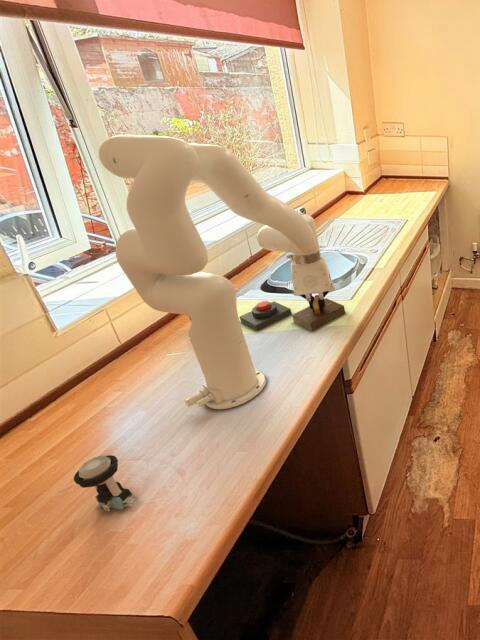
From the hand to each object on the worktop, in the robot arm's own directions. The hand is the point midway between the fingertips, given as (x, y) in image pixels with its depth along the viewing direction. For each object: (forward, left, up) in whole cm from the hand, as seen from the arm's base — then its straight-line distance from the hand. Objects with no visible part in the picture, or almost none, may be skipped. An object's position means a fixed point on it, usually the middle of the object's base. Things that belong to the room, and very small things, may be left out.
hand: (318, 309), depth 126 cm
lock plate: (0, 0, -3) cm, 3 cm away
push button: (-57, -23, -4) cm, 62 cm away
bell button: (-9, +14, 0) cm, 17 cm away
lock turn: (0, 0, 0) cm, 0 cm away
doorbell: (-9, +14, -3) cm, 17 cm away
